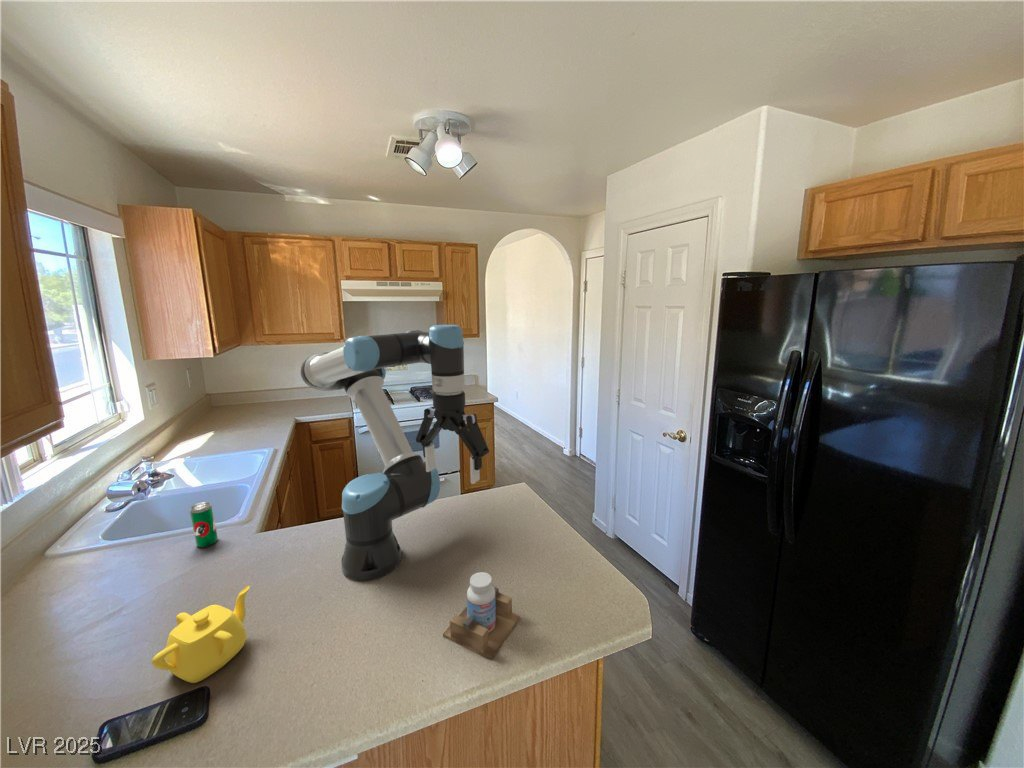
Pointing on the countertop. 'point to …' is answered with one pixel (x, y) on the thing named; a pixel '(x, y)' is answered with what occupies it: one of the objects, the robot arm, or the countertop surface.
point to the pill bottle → (481, 600)
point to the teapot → (204, 641)
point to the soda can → (203, 524)
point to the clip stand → (478, 636)
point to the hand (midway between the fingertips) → (452, 475)
